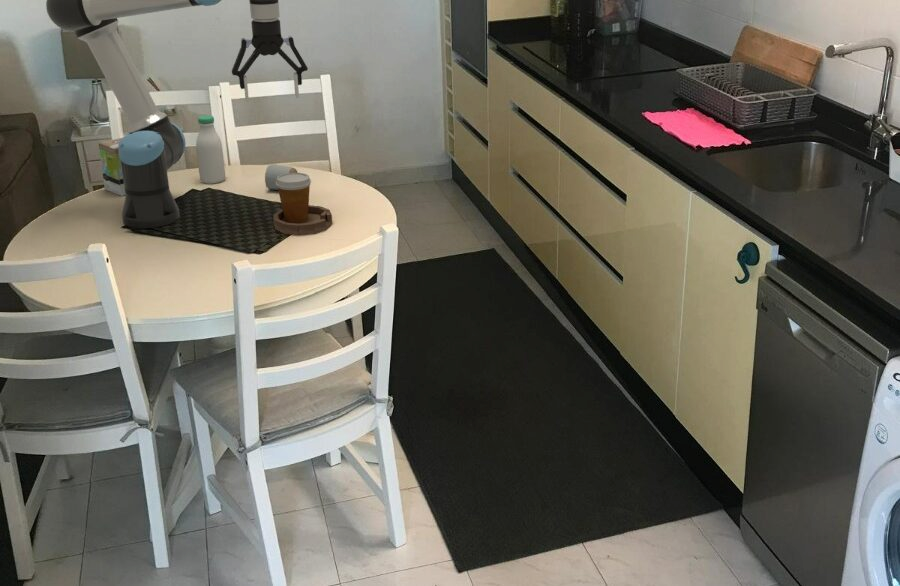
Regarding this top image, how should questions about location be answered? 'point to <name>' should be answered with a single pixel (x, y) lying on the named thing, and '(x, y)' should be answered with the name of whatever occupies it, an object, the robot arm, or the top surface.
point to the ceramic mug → (276, 174)
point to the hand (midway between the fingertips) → (272, 98)
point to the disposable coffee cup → (294, 196)
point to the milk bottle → (209, 152)
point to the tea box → (111, 166)
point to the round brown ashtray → (305, 222)
